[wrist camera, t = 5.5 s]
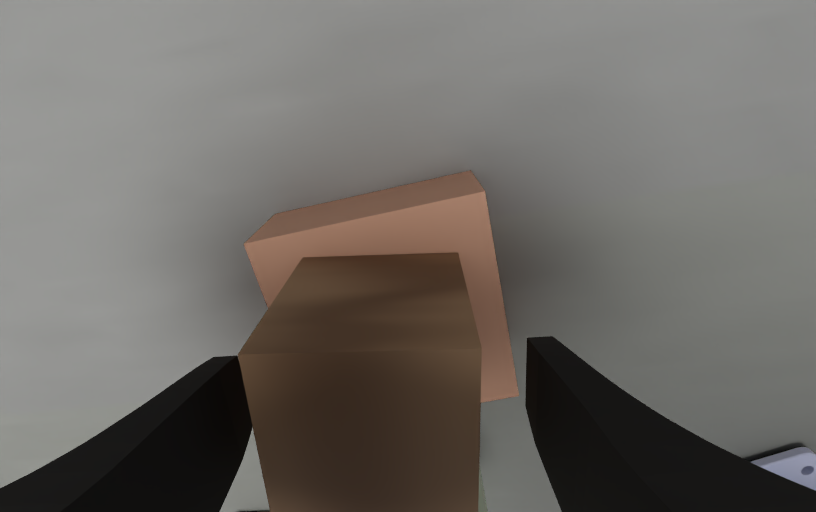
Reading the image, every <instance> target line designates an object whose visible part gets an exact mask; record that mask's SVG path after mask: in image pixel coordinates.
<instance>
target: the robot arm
mask: <svg viewBox="0 0 816 512" xmlns="http://www.w3.org/2000/svg"><path fill="white" fill-rule="evenodd" d="M525 406H526V410H527V414H528V418H529V422H530V426H531V430H532V433H533V437H534V441H535V444H536V447H537V450H538V452H539V455H540V457H541V460H542V462H543V465H544V468H545V470H546V473H547V475H548V478H549V480H550V483H551V485H552V488H553V490H554V493H555V495H556V498H557V500H558V503H559V505H560V508H561V510H562V512H816V454H815V453H814V452H812V451H811V450H810V449H809V448H807V447H798V448H794V449H791V450H788V451H784V452H781V453H778V454H774V455H771V456H768V457H764V458H761V459H758V460H754V461H751V462H749V461H747V460H745V459H743V458H740V457H738V456H736V455H734V454H732V453H730V452H728V451H726V450H724V449H722V448H720V447H718V446H716V445H714V444H712V443H710V442H708V441H706V440H704V439H702V438H700V437H699V436H697V435H695V434H693V433H692V432H690V431H688V430H686V429H685V428H683V427H681V426H679V425H677V424H676V423H674V422H672V421H670V420H669V419H667V418H665V417H664V416H662V415H660V414H659V413H657V412H655V411H654V410H652V409H651V408H649V407H648V406H646V405H645V404H643V403H642V402H640V401H639V400H637V399H636V398H634V397H633V396H631V395H629V394H628V393H627V392H625V391H624V390H622V389H621V388H619V387H618V386H617V385H615V384H614V383H612V382H611V381H610V380H608V379H607V378H606V377H604V376H603V375H602V374H600V373H599V372H598V371H596V370H595V369H594V368H592V367H591V366H590V365H588V364H587V363H586V362H585V361H583V360H582V359H581V358H579V357H578V356H577V355H576V354H574V353H573V352H572V351H571V350H569V349H568V348H567V347H566V346H564V345H563V344H562V343H561V342H559V341H558V340H557V339H555V338H554V337H552V336H550V337H534V338H527V363H526V405H525ZM252 427H253V425H252V421H251V416H250V411H249V406H248V401H247V396H246V392H245V387H244V382H243V377H242V372H241V367H240V363H239V359H238V356H223V357H213V358H211V359H210V360H208V361H206V362H205V363H203V364H201V365H200V366H198V367H197V368H195V369H194V370H192V371H191V372H189V373H188V374H187V375H185V376H184V377H182V378H181V379H179V380H178V381H176V382H175V383H174V384H172V385H171V386H169V387H168V388H166V389H165V390H164V391H162V392H161V393H159V394H158V395H156V396H155V397H154V398H152V399H151V400H149V401H148V402H146V403H145V404H144V405H142V406H141V407H139V408H138V409H136V410H135V411H133V412H132V413H130V414H128V415H127V416H125V417H124V418H122V419H121V420H119V421H118V422H116V423H115V424H113V425H112V426H110V427H109V428H107V429H105V430H104V431H102V432H101V433H99V434H98V435H96V436H95V437H93V438H91V439H90V440H88V441H87V442H85V443H83V444H82V445H80V446H78V447H76V448H75V449H73V450H71V451H70V452H68V453H66V454H64V455H63V456H61V457H59V458H57V459H56V460H54V461H52V462H50V463H48V464H47V465H45V466H43V467H41V468H39V469H38V470H36V471H34V472H32V473H30V474H28V475H26V476H24V477H22V478H20V479H18V480H16V481H14V482H12V483H10V484H8V485H6V486H4V487H2V488H0V512H219V511H220V509H221V507H222V505H223V502H224V500H225V498H226V496H227V494H228V492H229V489H230V487H231V485H232V483H233V480H234V478H235V476H236V474H237V471H238V469H239V467H240V464H241V462H242V460H243V457H244V454H245V450H246V447H247V444H248V441H249V437H250V434H251V430H252Z"/></svg>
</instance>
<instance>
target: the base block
mask: <svg viewBox="0 0 816 512" xmlns="http://www.w3.org/2000/svg"><path fill="white" fill-rule="evenodd" d="M244 246H245V249H246V252H247V254H248V257H249V259H250V262H251V265H252V267H253V270H254V273H255V275H256V278H257V280H258V283H259V286H260V288H261V291H262V294H263V296H264V299H265V301H266V304H267V307H268V309H269V307H270V306H271V304H272V303H273V301H274V300H275V298H276V297H277V295H278V294H279V292H280V291H281V289H282V288H283V286H284V285H285V283H286V282H287V280H288V279H289V277H290V276H291V274H292V273H293V271H294V270H295V268H296V267H297V265H298V264H299V262H300V261H301V259H302V258H303V257H329V256H361V255H393V254H425V253H458V254H459V258H460V262H461V266H462V270H463V274H464V278H465V283H466V287H467V291H468V295H469V299H470V303H471V307H472V311H473V315H474V319H475V323H476V327H477V331H478V335H479V339H480V343H481V347H482V362H481V403H482V402H488V401H493V400H499V399H505V398H510V397H516V396H519V392H518V386H517V380H516V374H515V368H514V362H513V356H512V350H511V344H510V338H509V332H508V326H507V320H506V314H505V308H504V302H503V296H502V290H501V284H500V278H499V272H498V266H497V260H496V254H495V248H494V242H493V236H492V230H491V224H490V218H489V212H488V206H487V200H486V194H485V191H484V189H483V188H482V186H481V185H480V183H479V182H478V180H477V179H476V177H475V176H474V175H473V173H472V172H471V170H470V171H466V172H461V173H457V174H452V175H448V176H443V177H439V178H434V179H430V180H425V181H421V182H416V183H412V184H407V185H403V186H398V187H394V188H390V189H385V190H381V191H376V192H372V193H367V194H363V195H358V196H354V197H349V198H345V199H340V200H336V201H331V202H327V203H322V204H318V205H313V206H309V207H304V208H300V209H295V210H291V211H286V212H282V213H277V214H274V215H273V216H272V217H271V218H270V219H269V220H268V221H267V222H266V223H265V224H264V225H263V226H262V227H261V228H260V229H259V230H258V231H257V232H256V233H254V234H253V235H252V236H251V237H250V238H249V239H248V240H247V241H246V242H245V243H244Z"/></svg>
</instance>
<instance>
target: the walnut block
mask: <svg viewBox="0 0 816 512" xmlns="http://www.w3.org/2000/svg"><path fill="white" fill-rule="evenodd" d="M238 358H239V363H240V367H241V372H242V377H243V382H244V387H245V392H246V396H247V401H248V406H249V411H250V416H251V421H252V425H253V430H254V435H255V440H256V445H257V450H258V454H259V459H260V464H261V469H262V474H263V479H264V483H265V488H266V493H267V498H268V503H269V508H270V512H478V499H479V453H480V408H481V362H482V347H481V343H480V339H479V335H478V331H477V327H476V323H475V319H474V315H473V311H472V307H471V303H470V299H469V295H468V291H467V287H466V283H465V278H464V274H463V270H462V266H461V262H460V258H459V254H458V253H425V254H393V255H361V256H329V257H303V258H302V259H301V261H300V262H299V264H298V265H297V267H296V268H295V270H294V271H293V273H292V274H291V276H290V277H289V279H288V280H287V282H286V283H285V285H284V286H283V288H282V289H281V291H280V292H279V294H278V295H277V297H276V298H275V300H274V301H273V303H272V304H271V306H270V307H269V309H268V310H267V312H266V313H265V315H264V316H263V318H262V319H261V321H260V322H259V324H258V325H257V327H256V328H255V330H254V331H253V333H252V334H251V336H250V337H249V339H248V340H247V342H246V343H245V345H244V346H243V348H242V349H241V351H240V352H239V354H238Z"/></svg>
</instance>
